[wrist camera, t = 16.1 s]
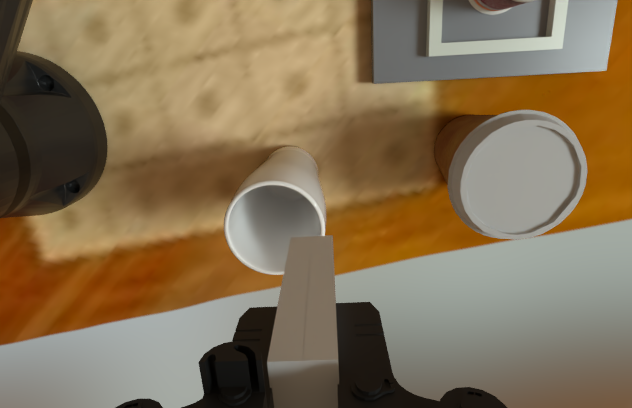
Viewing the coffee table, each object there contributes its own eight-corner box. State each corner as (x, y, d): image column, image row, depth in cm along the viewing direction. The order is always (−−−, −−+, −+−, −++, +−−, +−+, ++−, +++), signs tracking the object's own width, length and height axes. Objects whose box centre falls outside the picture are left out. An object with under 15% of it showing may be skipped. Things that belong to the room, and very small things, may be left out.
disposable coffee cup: (441, 211, 42) (484, 266, 31) (400, 128, 40) (431, 155, 28) (532, 167, 41) (612, 208, 29) (495, 77, 38) (568, 84, 27)
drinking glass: (270, 126, 40) (241, 163, 26) (336, 153, 41) (343, 203, 26) (247, 189, 42) (208, 256, 28) (310, 214, 43) (303, 290, 29)
